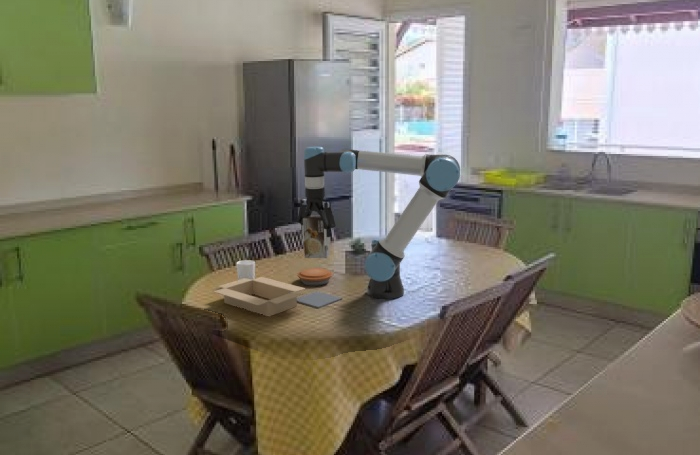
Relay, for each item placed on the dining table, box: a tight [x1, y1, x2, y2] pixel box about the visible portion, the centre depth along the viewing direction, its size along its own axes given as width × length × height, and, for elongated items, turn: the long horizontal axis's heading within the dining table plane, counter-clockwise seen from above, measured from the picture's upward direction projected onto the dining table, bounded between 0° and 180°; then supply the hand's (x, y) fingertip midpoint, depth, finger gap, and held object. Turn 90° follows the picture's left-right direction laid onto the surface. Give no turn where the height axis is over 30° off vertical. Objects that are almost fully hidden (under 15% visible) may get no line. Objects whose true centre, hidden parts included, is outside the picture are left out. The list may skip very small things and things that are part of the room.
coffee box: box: [303, 214, 330, 259], centre depth 247 cm, size 9×6×16 cm
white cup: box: [236, 259, 256, 280], centre depth 273 cm, size 8×8×10 cm
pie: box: [296, 267, 333, 286], centre depth 277 cm, size 15×16×5 cm
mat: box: [297, 290, 343, 309], centre depth 253 cm, size 14×14×1 cm
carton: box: [213, 276, 306, 317], centre depth 247 cm, size 33×25×6 cm
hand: (316, 242), depth 248 cm, fingers closed on coffee box, 11 cm apart
